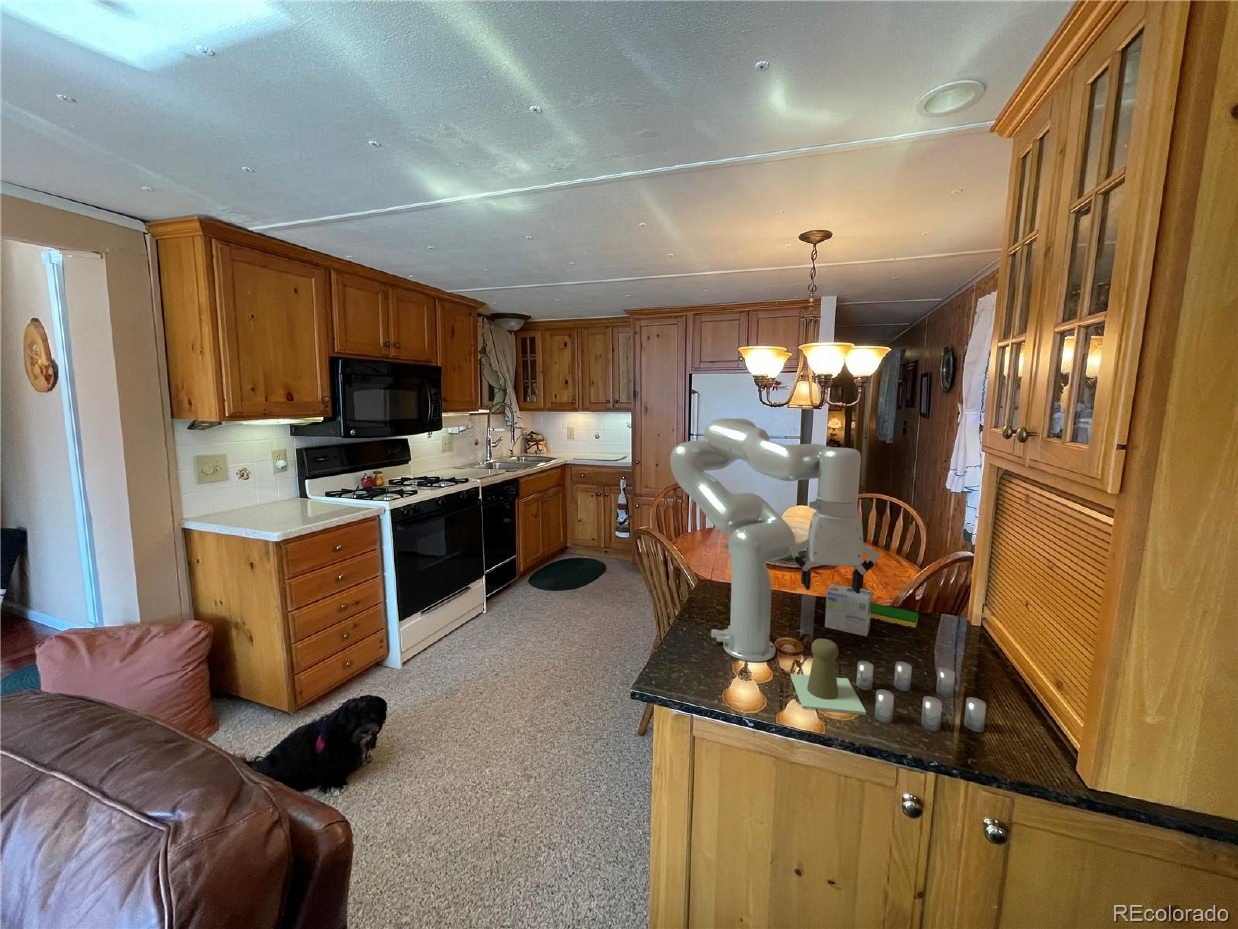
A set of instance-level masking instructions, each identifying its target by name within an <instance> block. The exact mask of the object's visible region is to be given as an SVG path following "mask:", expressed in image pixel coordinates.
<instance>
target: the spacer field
mask: <svg viewBox="0 0 1238 929" xmlns="http://www.w3.org/2000/svg"><path fill="white" fill-rule="evenodd" d="M894 668H895V669H894V679H893V680H894V683H893V686H894V687H895V689H897V690H899V691H902V692H907V691H910V690H911V682H912V681H911V680H912V668H913V666H912V665H911V664H909V663H908V662H905V661H896V662H895V666H894ZM873 677H874V663H871V662H869V661H866V660H859V661H858V662H857V672H856V683H855V685H856V686H857V688H859V689H861V690H864V691H870V690H872V689H873V679H874V678H873ZM955 678H956V672H955V671H954V670H953V669H952V668H948V667H944V666H941V667H938V668H937V675H936V679H937V680H936V689H935V692H936V693H937V694H938V695H940V696H942V697H944V698H953V697H954V692H955V691H954V689H955V681H956V680H955ZM875 692H876V693H875V705H874V706H875V707H874V718H875V719H876V720H878V721H879V722H882V723H884V724H890V723H892V722H893V714H894V703H895V702H894V701H895V700H894V699H895V695H894V694H893V693H892V692H891V691H890V690H887V689H877V690H876V691H875ZM942 710H943V703H942V701H941V700H940V699H938V698H936V697H933V696H928V695H927V696H926V695H925V696H923V698H922V708H921V722H920V723H921V725H922V727H923V728H924V729H927V730H929V731H933V732H937V731H940V730H941V723H942V722H941V720H942V718H941V717H942ZM964 711H965V712H964V721H963V722H964V723H963V724H964V726H965V728H967V729H969V730H970V731H972V732H976V733H977V732H978V733H982V732H984V731H985V730H984V729H985V720H986V713H987V712H986V711H987V704H986V702H985V701H984V700H982V699H979V698H978V697H971V696H970V697H969V696H968V697H967V698H966V700H965V709H964Z"/></svg>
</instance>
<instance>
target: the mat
mask: <svg viewBox="0 0 1238 929" xmlns="http://www.w3.org/2000/svg"><path fill="white" fill-rule="evenodd" d="M809 676H810V674H801V673H799V674H798V673H797V674H796V673H790V678H791V681H792V683H793V685H794V688H795V689H794V690H795V692H796V694H797V698H798V700H799V703H801V704H800V706H801V709H802V708H811V709H815V710H814V711H822V712H831V713H833V712H834V713H842V714H855V715H863V716H864V715H865V716H867V711H866V708H865V707H864V705H863V704H862V702H861V700H860V698H859V696H858V695H857V693H856V691H855V689H854V687H853V686H852V684H851V682H850V680H849V679H848V677H847V678H845V677H837V688H838V696H837V698H835V699H831V700H826V699H821V698H818V697H815V696H813V695H812V694H811V693H809V691H808V690H807V686H808V681H809ZM811 709H810V710H811ZM816 709H817V710H816Z"/></svg>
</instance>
